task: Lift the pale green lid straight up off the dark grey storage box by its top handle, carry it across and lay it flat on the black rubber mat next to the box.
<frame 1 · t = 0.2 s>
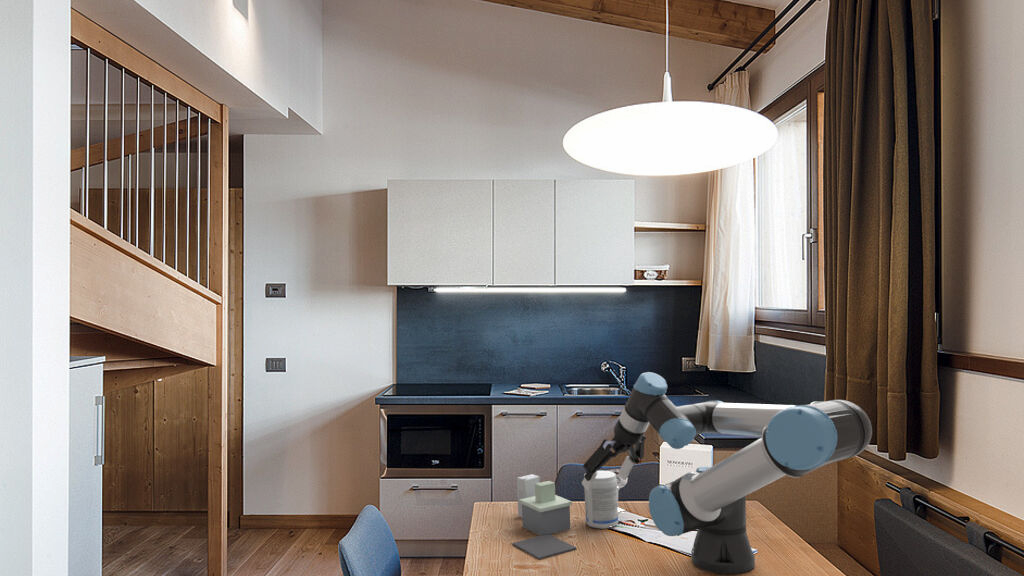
hand: (604, 481, 189), 16 cm above the table, tool tilted 35°, fingers open, 13 cm apart
lid: (545, 506, 201), point 6 cm above the table, touching storage box
skincare box: (529, 516, 212), on the table
storage box: (546, 527, 200), on the table
supplement tub: (601, 524, 202), on the table
mat: (544, 547, 186), on the table
wineglass: (617, 510, 215), on the table
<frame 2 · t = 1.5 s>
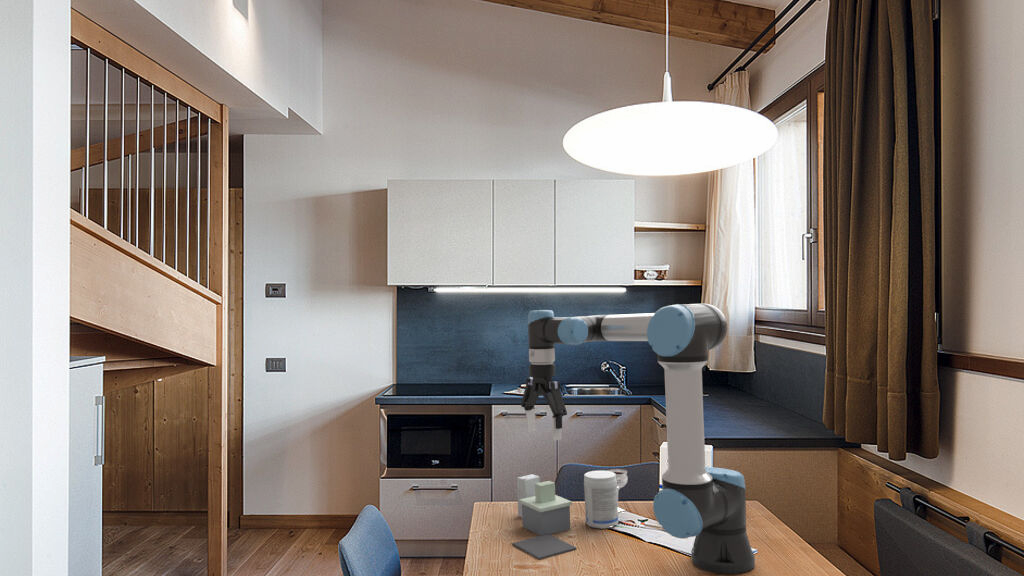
hand: (543, 435, 201), 27 cm above the table, tool pointing down, fingers open, 13 cm apart
nothing on the table moved.
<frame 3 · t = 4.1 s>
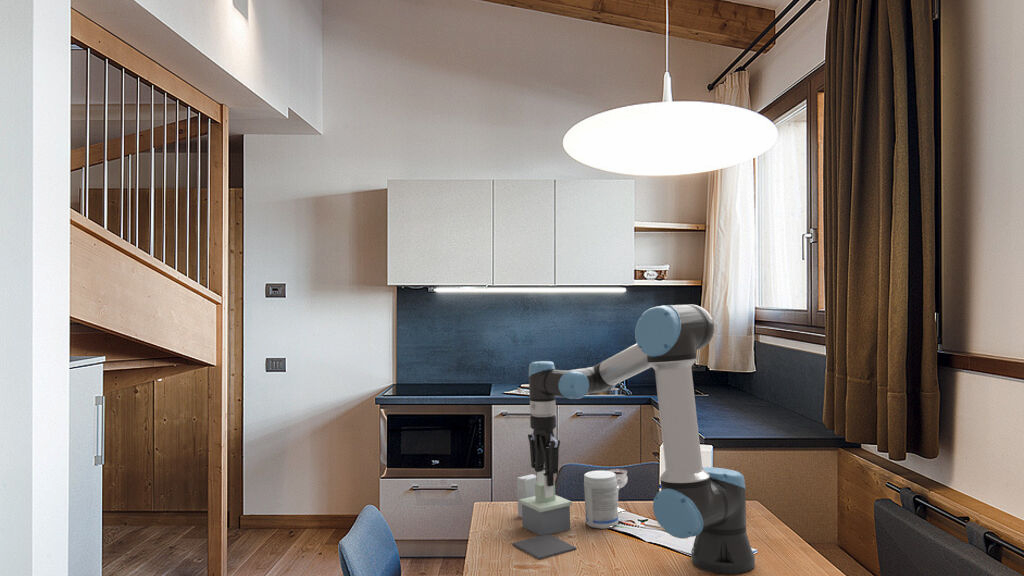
hand: (545, 495, 201), 10 cm above the table, tool pointing down, fingers closed on lid, 3 cm apart
lid: (545, 506, 201), point 6 cm above the table, touching gripper, storage box
everything else where it was.
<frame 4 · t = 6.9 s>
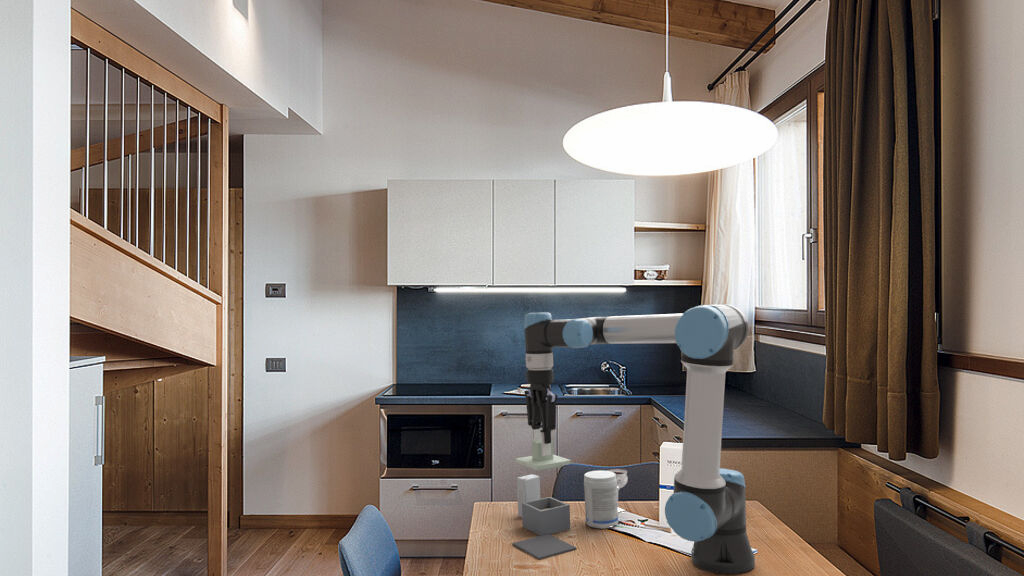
hand: (542, 453, 189), 24 cm above the table, tool pointing down, fingers closed on lid, 3 cm apart
lid: (543, 465, 189), point 21 cm above the table, touching gripper
everything else where it was.
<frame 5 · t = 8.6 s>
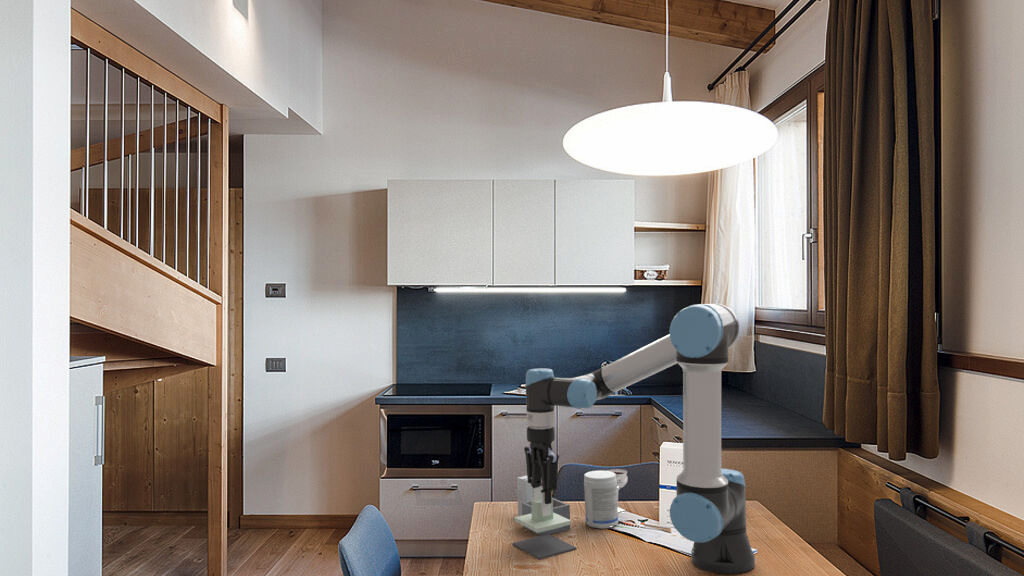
hand: (542, 513, 186), 9 cm above the table, tool pointing down, fingers closed on lid, 3 cm apart
lid: (542, 525, 186), point 6 cm above the table, touching gripper
everything else where it was.
when the fingers open (5 cm above the table, at t = 9.9 s): lid drops 1 cm, resting on mat.
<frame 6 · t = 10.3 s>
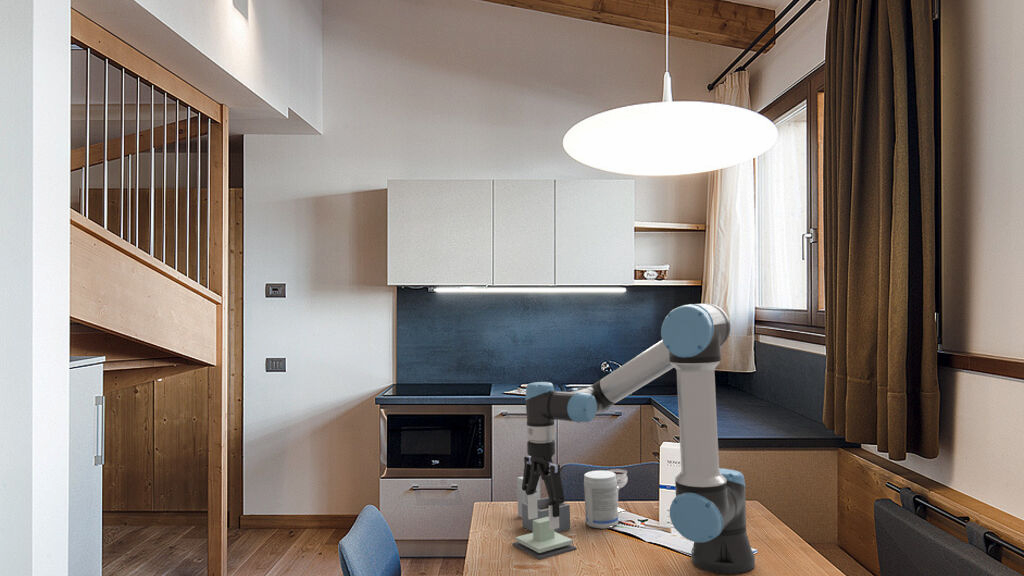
hand: (543, 523, 186), 6 cm above the table, tool pointing down, fingers open, 9 cm apart
lid: (544, 545, 186), resting on mat
everything else where it was.
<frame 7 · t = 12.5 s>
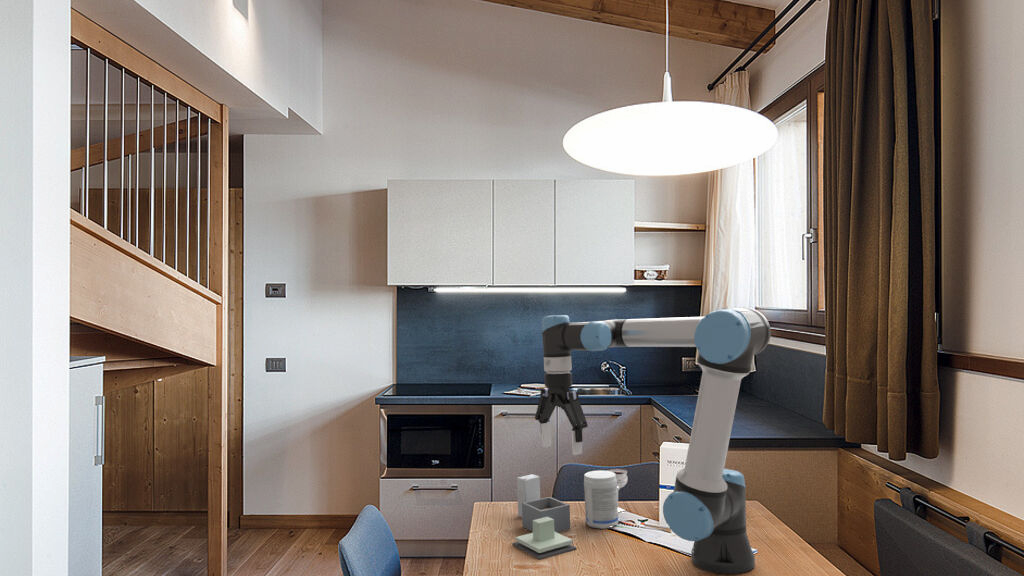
hand: (561, 450, 187), 26 cm above the table, tool pointing down, fingers open, 13 cm apart
nothing on the table moved.
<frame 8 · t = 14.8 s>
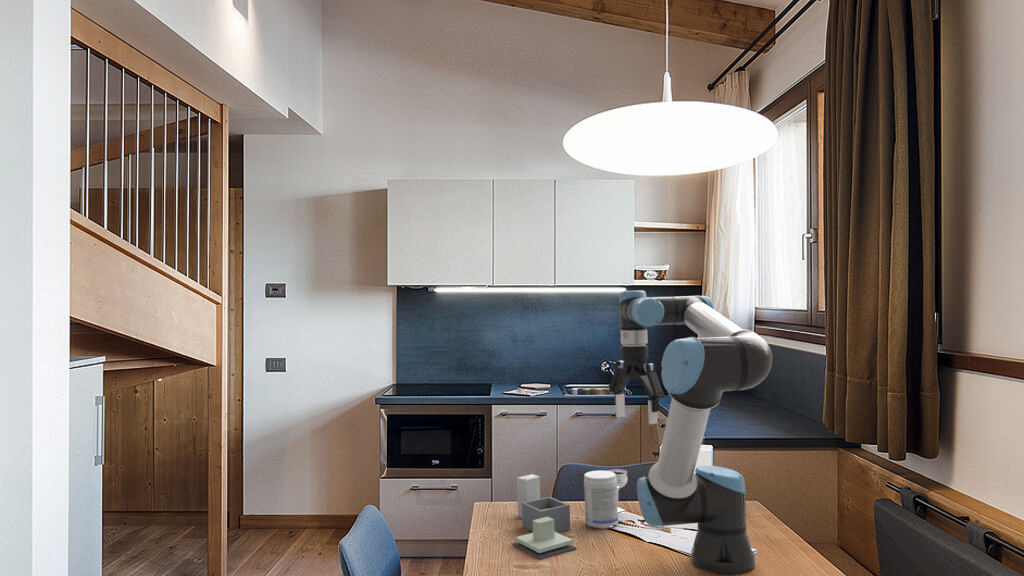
hand: (636, 420, 195), 32 cm above the table, tool pointing down, fingers open, 13 cm apart
nothing on the table moved.
at the end: lid inside the target area on the mat (0.0 cm from its centre), point 0.5 cm above the mat's base; lid tilted 0°; the gripper is holding nothing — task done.
